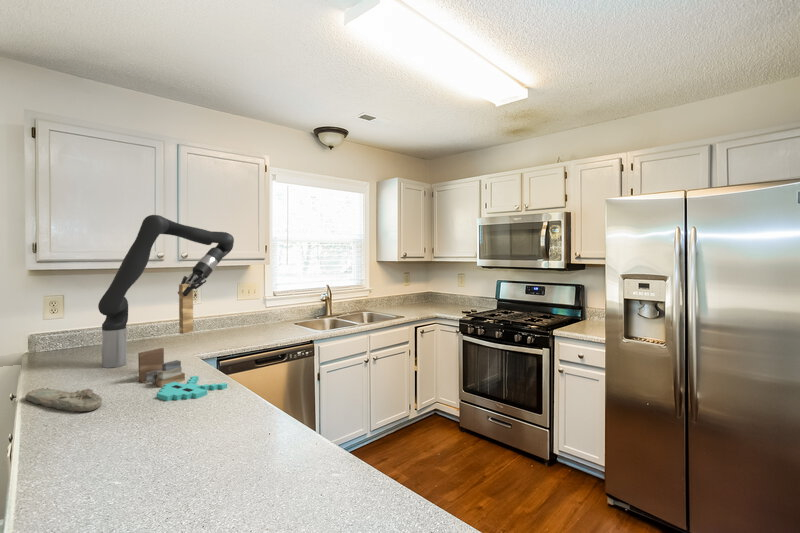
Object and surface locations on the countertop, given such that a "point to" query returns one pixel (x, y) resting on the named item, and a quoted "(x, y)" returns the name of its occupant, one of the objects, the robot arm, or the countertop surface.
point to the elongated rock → (65, 399)
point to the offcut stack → (170, 373)
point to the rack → (150, 365)
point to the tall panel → (185, 310)
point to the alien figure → (187, 390)
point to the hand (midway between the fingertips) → (181, 294)
